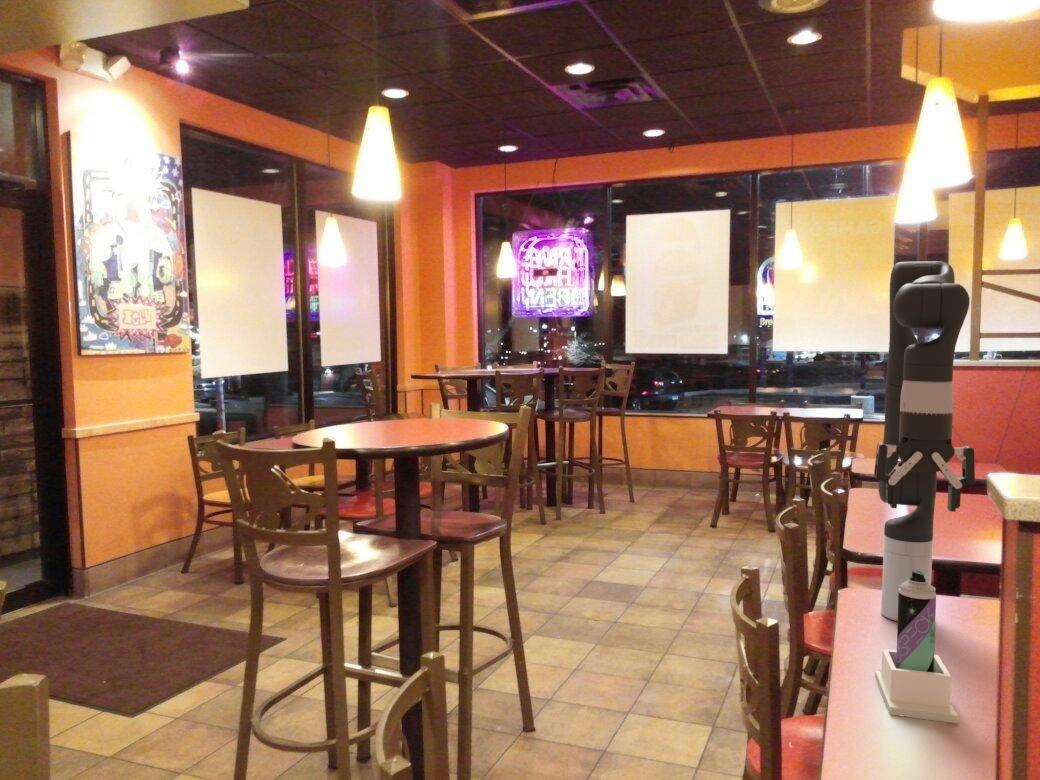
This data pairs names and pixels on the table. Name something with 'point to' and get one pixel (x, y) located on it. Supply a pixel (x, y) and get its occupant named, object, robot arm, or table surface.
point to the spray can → (916, 624)
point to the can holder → (916, 690)
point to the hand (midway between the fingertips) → (921, 509)
